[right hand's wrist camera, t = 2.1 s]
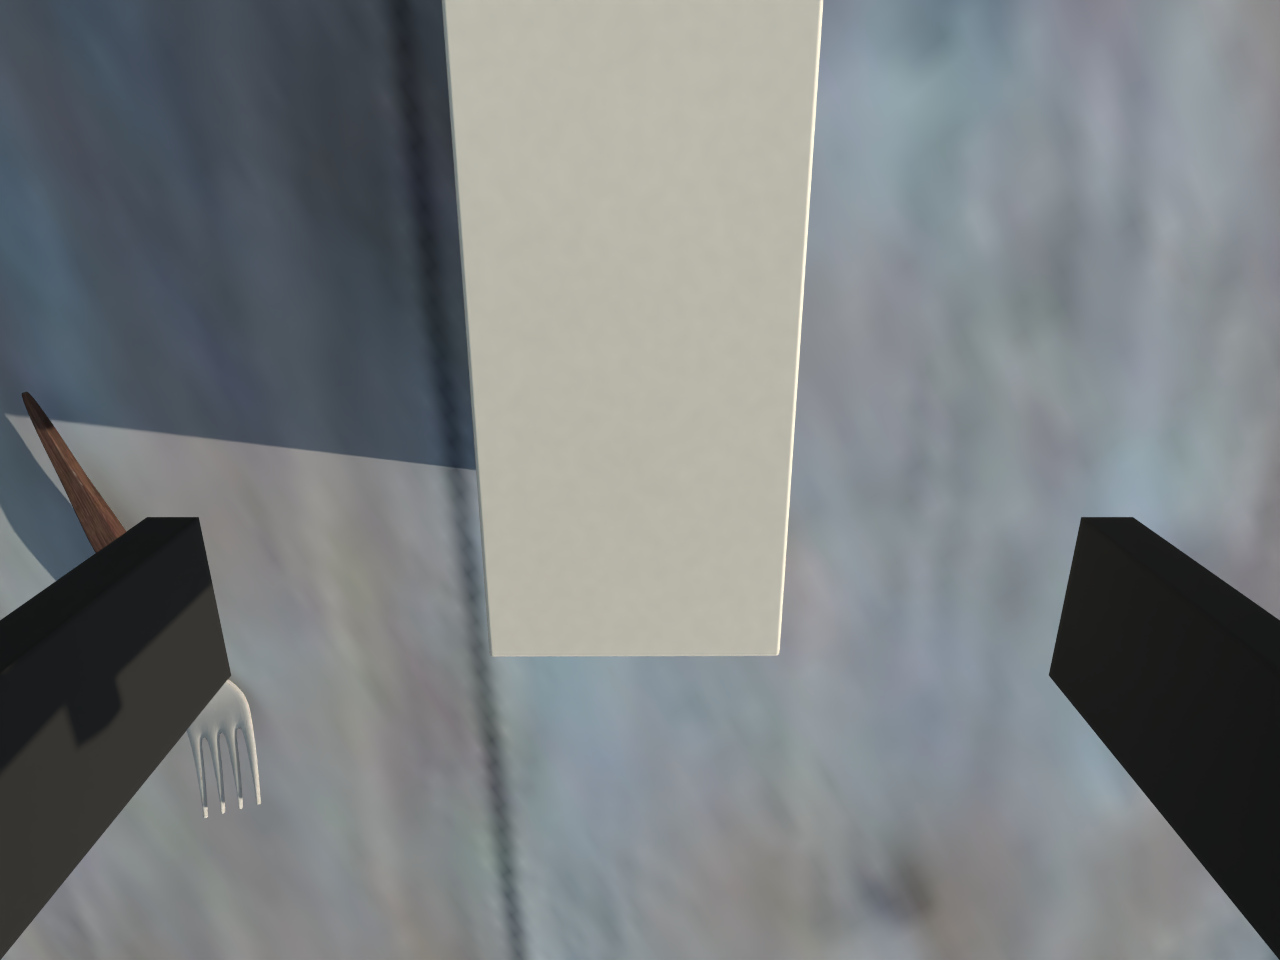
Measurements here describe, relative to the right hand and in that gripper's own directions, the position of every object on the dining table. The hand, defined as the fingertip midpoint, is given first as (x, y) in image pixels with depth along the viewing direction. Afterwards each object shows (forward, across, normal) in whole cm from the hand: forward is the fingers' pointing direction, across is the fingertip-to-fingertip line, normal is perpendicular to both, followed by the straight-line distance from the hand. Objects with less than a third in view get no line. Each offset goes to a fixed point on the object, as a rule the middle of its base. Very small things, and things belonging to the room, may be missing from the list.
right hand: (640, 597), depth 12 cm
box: (+15, 0, -9) cm, 17 cm away
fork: (+15, +17, +8) cm, 24 cm away
